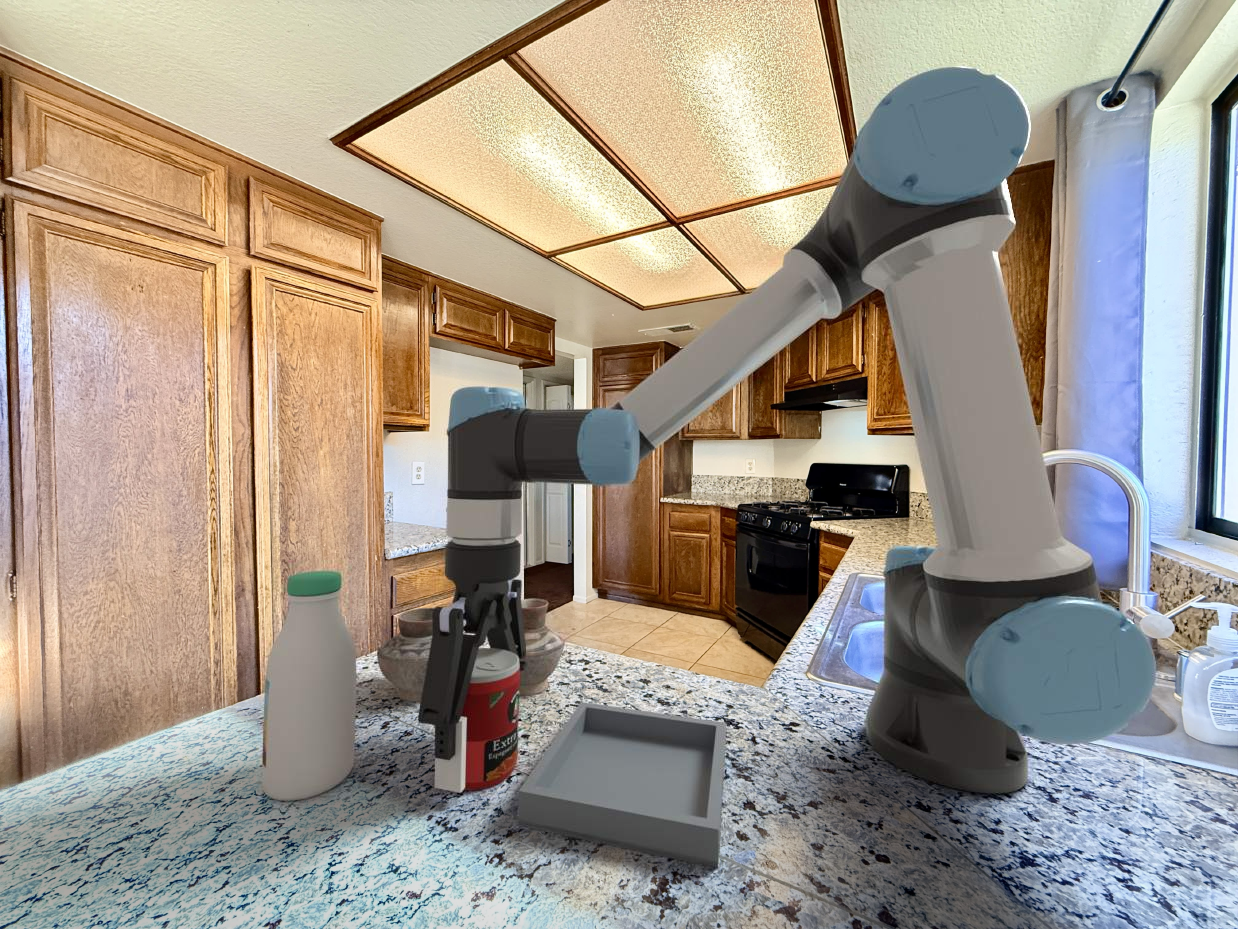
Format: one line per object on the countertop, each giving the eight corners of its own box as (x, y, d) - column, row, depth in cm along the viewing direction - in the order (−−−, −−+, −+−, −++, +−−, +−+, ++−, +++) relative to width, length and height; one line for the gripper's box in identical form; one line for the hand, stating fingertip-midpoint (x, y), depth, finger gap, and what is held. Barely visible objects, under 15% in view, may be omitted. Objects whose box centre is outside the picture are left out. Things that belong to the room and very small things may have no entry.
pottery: (565, 704, 65) (567, 613, 66) (363, 715, 61) (365, 618, 61) (561, 669, 77) (563, 592, 77) (389, 677, 72) (391, 595, 73)
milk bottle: (371, 762, 51) (376, 569, 52) (306, 811, 44) (312, 586, 44) (312, 749, 54) (317, 564, 54) (240, 794, 46) (246, 579, 46)
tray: (725, 749, 55) (726, 722, 55) (718, 868, 39) (718, 829, 39) (580, 727, 59) (581, 702, 59) (517, 825, 43) (518, 790, 43)
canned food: (498, 798, 46) (501, 680, 47) (421, 785, 48) (424, 671, 48) (529, 752, 54) (531, 651, 54) (462, 742, 56) (464, 644, 56)
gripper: (501, 525, 63) (497, 702, 63) (375, 554, 41) (368, 824, 41) (557, 528, 61) (553, 710, 61) (455, 560, 39) (448, 842, 39)
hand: (478, 756), depth 51 cm, fingers open, 10 cm apart
